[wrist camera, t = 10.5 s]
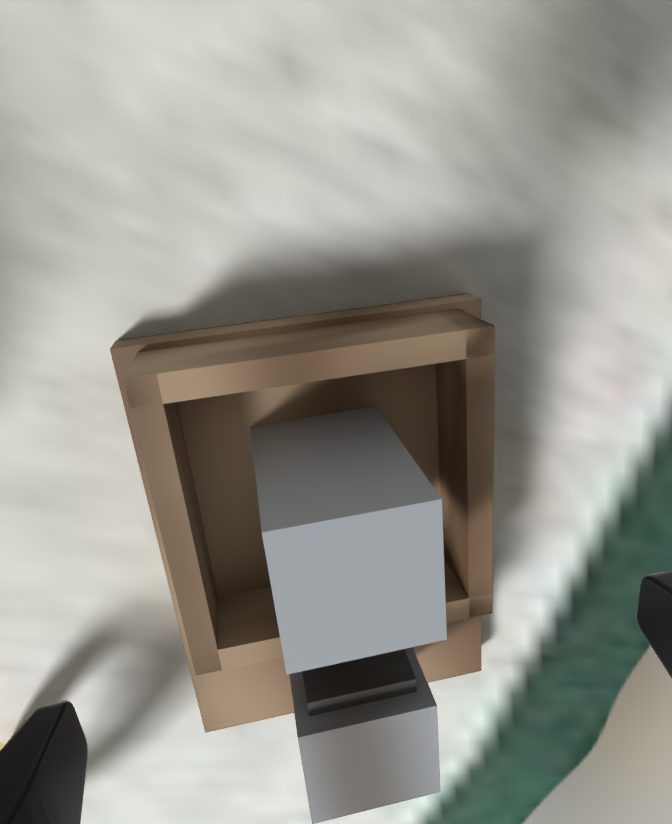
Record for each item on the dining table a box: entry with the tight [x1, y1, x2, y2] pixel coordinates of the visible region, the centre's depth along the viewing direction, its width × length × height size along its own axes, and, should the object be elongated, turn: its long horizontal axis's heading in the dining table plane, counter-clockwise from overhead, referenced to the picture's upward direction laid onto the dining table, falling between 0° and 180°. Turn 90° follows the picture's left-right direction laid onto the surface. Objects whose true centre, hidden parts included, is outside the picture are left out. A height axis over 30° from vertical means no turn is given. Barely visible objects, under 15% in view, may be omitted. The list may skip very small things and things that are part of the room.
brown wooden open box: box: [110, 294, 494, 824], centre depth 18 cm, size 11×15×6 cm
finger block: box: [250, 407, 447, 675], centre depth 16 cm, size 4×4×6 cm
